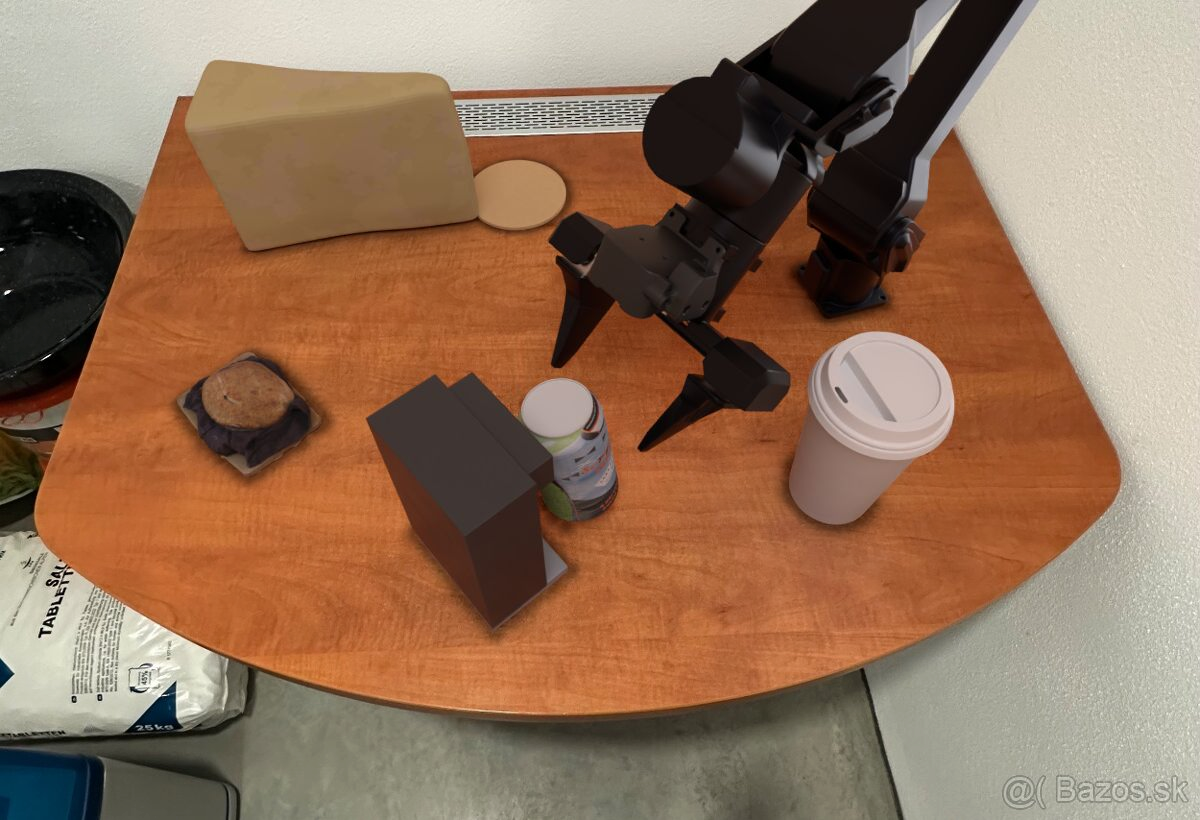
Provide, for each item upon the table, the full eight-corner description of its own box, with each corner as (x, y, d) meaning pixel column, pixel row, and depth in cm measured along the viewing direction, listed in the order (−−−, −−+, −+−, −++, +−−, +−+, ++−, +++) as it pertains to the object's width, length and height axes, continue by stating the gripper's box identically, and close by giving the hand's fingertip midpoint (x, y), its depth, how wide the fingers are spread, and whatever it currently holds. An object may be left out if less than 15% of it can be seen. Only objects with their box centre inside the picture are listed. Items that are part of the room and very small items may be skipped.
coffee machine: (488, 481, 64) (461, 356, 50) (568, 571, 60) (564, 463, 46) (414, 533, 61) (365, 417, 47) (493, 631, 57) (464, 536, 43)
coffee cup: (764, 434, 66) (807, 318, 54) (879, 438, 66) (949, 324, 54) (774, 540, 61) (824, 440, 49) (899, 545, 61) (981, 446, 49)
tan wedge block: (482, 181, 82) (460, 46, 69) (476, 251, 77) (452, 118, 64) (265, 186, 82) (204, 50, 69) (245, 255, 76) (174, 123, 64)
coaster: (550, 155, 85) (550, 152, 85) (578, 218, 80) (578, 215, 80) (458, 173, 83) (457, 170, 83) (480, 239, 78) (480, 236, 78)
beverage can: (609, 535, 61) (614, 458, 51) (516, 517, 62) (503, 437, 52) (624, 465, 65) (632, 379, 55) (536, 449, 65) (527, 361, 55)
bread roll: (172, 407, 67) (152, 381, 64) (259, 349, 70) (243, 323, 67) (241, 485, 63) (223, 462, 60) (330, 421, 66) (317, 396, 63)
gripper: (567, 106, 48) (441, 316, 53) (803, 285, 40) (630, 510, 46) (653, 157, 57) (539, 331, 63) (857, 310, 50) (709, 494, 55)
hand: (597, 407), depth 56 cm, fingers open, 9 cm apart
